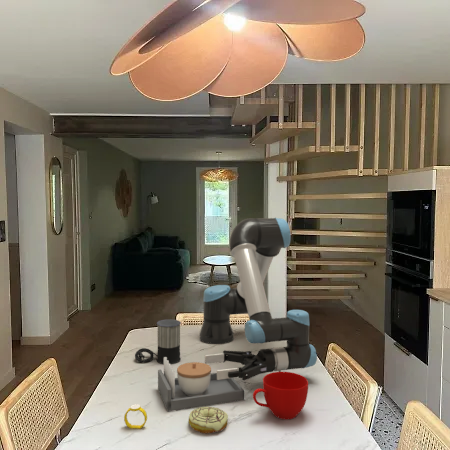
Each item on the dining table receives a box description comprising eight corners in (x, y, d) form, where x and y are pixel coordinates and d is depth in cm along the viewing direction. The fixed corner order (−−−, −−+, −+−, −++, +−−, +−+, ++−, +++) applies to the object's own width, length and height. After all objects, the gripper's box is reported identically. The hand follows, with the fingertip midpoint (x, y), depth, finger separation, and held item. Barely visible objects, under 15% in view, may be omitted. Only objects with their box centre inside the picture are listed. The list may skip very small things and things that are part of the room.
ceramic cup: (242, 411, 129) (242, 377, 129) (291, 400, 136) (292, 368, 136) (264, 432, 117) (264, 395, 117) (316, 419, 124) (317, 385, 124)
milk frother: (185, 361, 169) (185, 323, 168) (148, 370, 159) (148, 330, 158) (166, 351, 180) (166, 315, 179) (131, 359, 170) (130, 321, 169)
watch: (124, 430, 118) (122, 409, 118) (126, 425, 121) (125, 404, 121) (146, 430, 118) (144, 408, 118) (148, 424, 121) (146, 403, 120)
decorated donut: (225, 437, 115) (225, 423, 115) (185, 434, 116) (185, 421, 116) (229, 418, 125) (229, 405, 125) (192, 415, 127) (192, 402, 126)
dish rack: (158, 389, 144) (157, 356, 143) (227, 380, 151) (227, 348, 151) (167, 411, 128) (167, 374, 128) (244, 400, 136) (244, 365, 136)
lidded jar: (206, 401, 133) (206, 371, 132) (172, 398, 135) (172, 368, 134) (214, 386, 143) (214, 358, 143) (182, 383, 145) (182, 356, 145)
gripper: (288, 385, 135) (222, 395, 129) (257, 358, 159) (200, 364, 152) (288, 361, 135) (223, 369, 128) (257, 337, 159) (200, 343, 152)
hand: (210, 367), depth 140 cm, fingers open, 13 cm apart
